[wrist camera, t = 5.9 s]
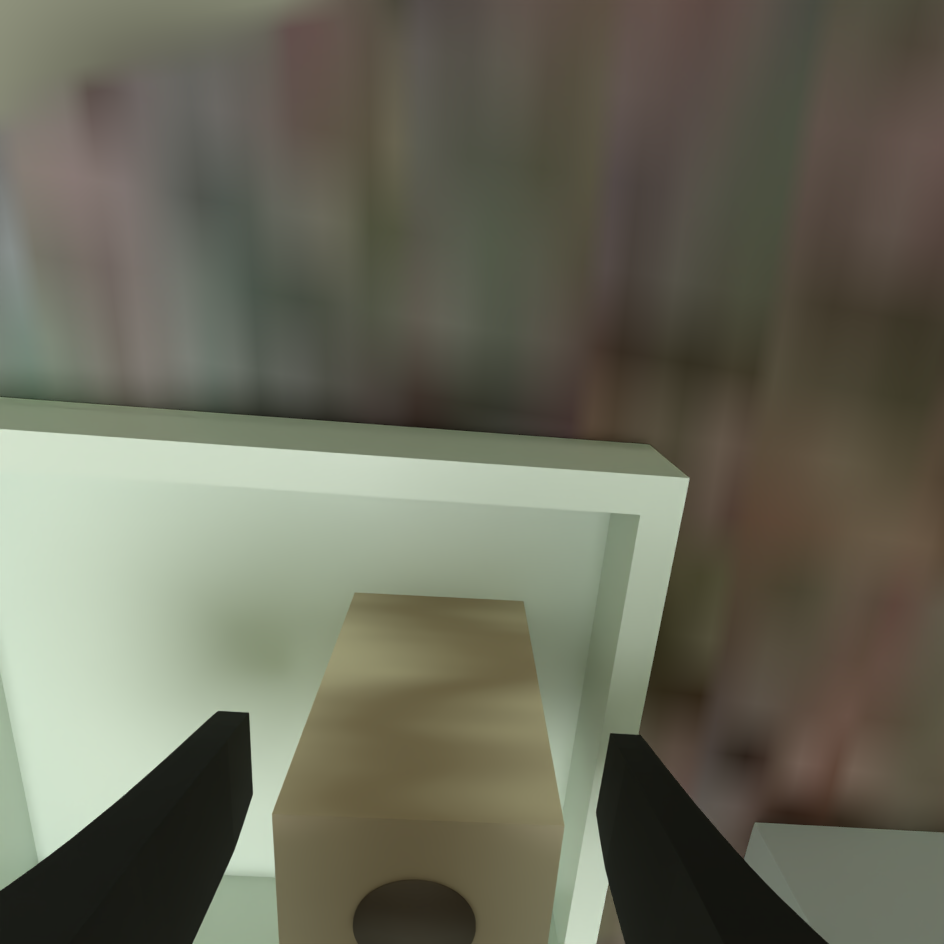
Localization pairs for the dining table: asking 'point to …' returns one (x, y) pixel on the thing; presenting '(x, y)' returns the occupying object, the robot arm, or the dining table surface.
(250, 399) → the dining table surface
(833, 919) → the large block
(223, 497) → the tray
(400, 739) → the small block
